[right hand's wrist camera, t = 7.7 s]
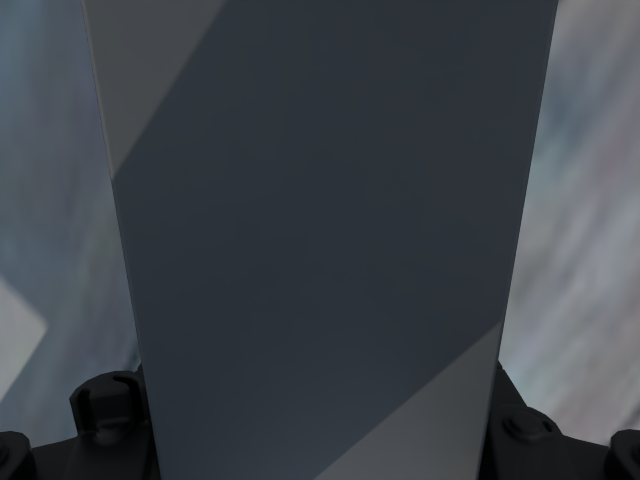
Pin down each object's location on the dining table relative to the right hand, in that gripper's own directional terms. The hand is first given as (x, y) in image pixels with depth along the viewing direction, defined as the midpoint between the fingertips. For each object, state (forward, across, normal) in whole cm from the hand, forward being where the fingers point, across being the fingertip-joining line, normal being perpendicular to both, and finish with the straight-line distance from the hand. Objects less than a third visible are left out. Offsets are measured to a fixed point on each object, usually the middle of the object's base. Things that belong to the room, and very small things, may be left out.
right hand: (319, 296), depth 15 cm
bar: (+1, 0, -9) cm, 9 cm away
